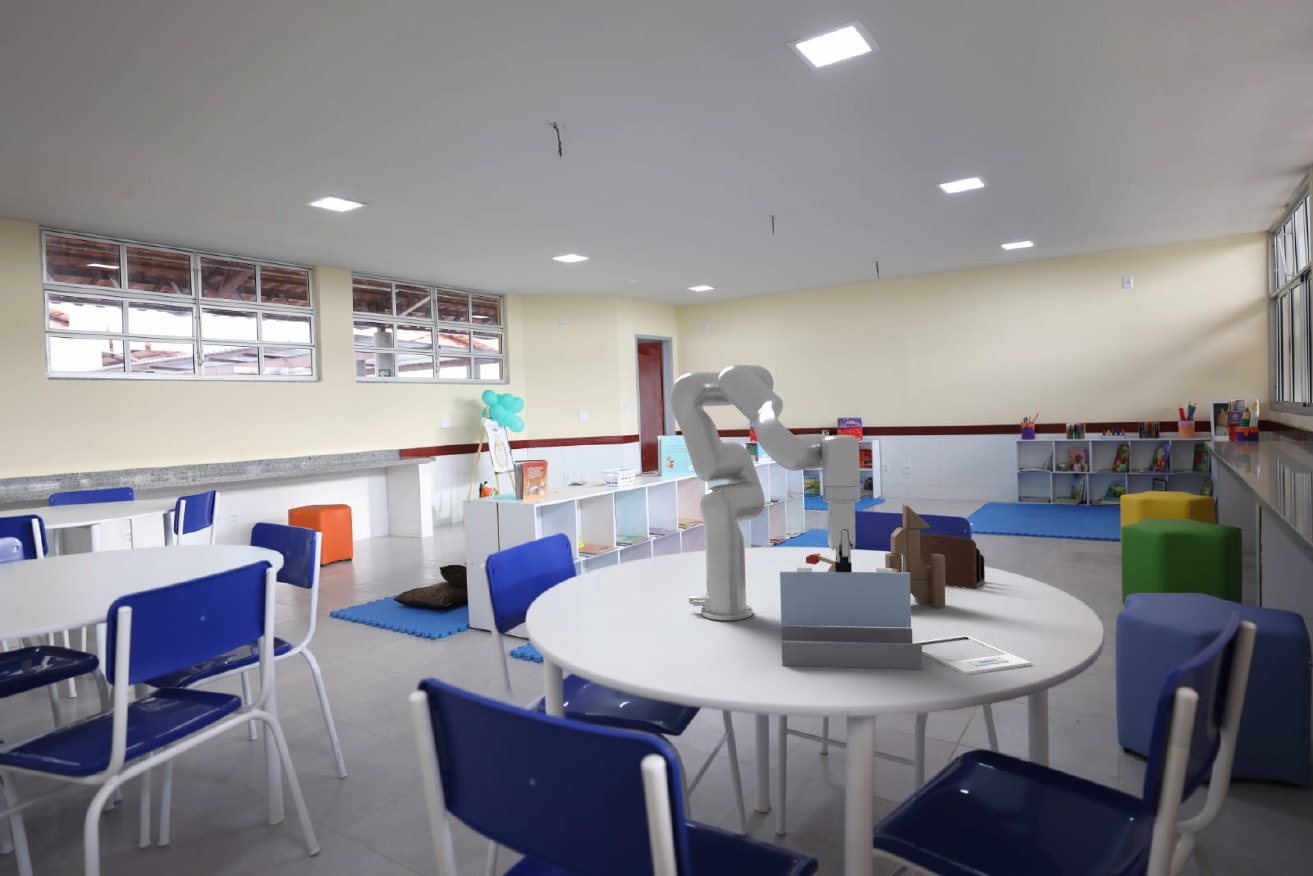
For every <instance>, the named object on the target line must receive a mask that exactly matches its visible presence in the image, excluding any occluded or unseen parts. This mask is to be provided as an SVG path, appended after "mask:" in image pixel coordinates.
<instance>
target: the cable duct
mask: <svg viewBox="0 0 1313 876" xmlns="http://www.w3.org/2000/svg"><path fill="white" fill-rule="evenodd" d="M780 628H781V631H780V632H781V661H782V662H781V663H782V665H781V666H785V667H786V666H787V667H788V666H789V667H790V666H794V667H795V666H797V667H798V666H799V667H824V668H825V667H827V668H828V667H831V668H864V669H866V668H868V669H899V670H900V669H904V670H923V653H922V649H923V645H922V643H921V644H917V643H913V642H914V641H913V629H912V627H911V628H900V627H847V626H794V625H780Z"/></svg>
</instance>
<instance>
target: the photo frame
mask: <svg viewBox="0 0 1313 876" xmlns="http://www.w3.org/2000/svg"><path fill="white" fill-rule="evenodd" d="M957 639H968V641H970V642H973V643H974V644H976V645H979V646H982V647H983V648H986V649H989V650H990V651H993V652H994V653H995V652H996V653H998V654H999V655H991V656H984V657H979V658H970V659H963V660H957V661H950V662H949V661H947V660H945V659H943V658H941V657H939V656H937V655H935V654H934V653H931V652H929V651H927V650H925V649H923V648H922V655H925V656H928V657H930V658H931V659H932V660H934V661H937V662H939V663H941V664H942V665H945V666H947V667H949V668H951V669H953V670H955V671H957V672H959V673H961V674H963V675H965V676H966V675H973V674H982V673H987V672H994V671H1001V670H1007V669H1014V668H1021V667H1026V666H1027V667H1028V666H1031V665H1032V663H1031V661H1028V660H1026V659H1024V658H1021V657H1019V656H1017V655H1014V654H1012V653H1009V652H1007V651H1005V650H1003V649H1000V648H997V647H995V646H993V645H990V644H988V643H986V642H983V641H981V640H979V639H976V638H974V637H971V636H969V635H959V636H958V635H956V636H949V637H943V638H935V639H929V640H920V641H912V642H913V643H917V644H921V645H922V644H926V643H935V642H943V641H950V640H957Z"/></svg>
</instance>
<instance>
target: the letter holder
mask: <svg viewBox="0 0 1313 876" xmlns="http://www.w3.org/2000/svg"><path fill="white" fill-rule="evenodd" d="M932 554H942V555H944V556H945V587H953V586H958V587H957V588H962V587H966V588H965V589H970V588H972V589H971V590H976V589H978V588H979V587H980V586H981V585H983V582H984V583H985V581H986V580H985V577H986V574H985V573H986V572H985V571H986V570H985V556H984V555H983V554H981V550H980V549H979V548H978V547H977V543H976V541H975V540H974V539H970V538H966V537H961V536H957V535H951V534H950V535H947V534H940V533H920V558H921V560H922V561H923V563H924V564H926V565H928V566H930V567H931V555H932ZM902 572H904V570H903V569H902ZM978 586H979V587H978ZM977 587H978V588H977Z"/></svg>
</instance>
